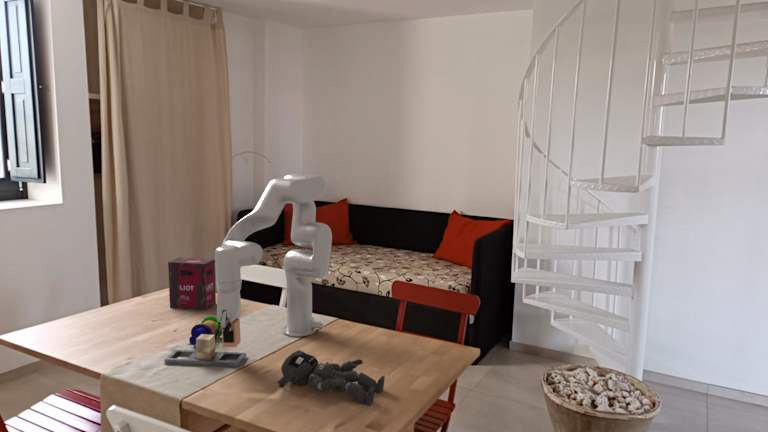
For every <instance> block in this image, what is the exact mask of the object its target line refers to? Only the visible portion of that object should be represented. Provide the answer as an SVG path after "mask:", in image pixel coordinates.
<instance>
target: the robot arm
mask: <svg viewBox="0 0 768 432" xmlns="http://www.w3.org/2000/svg"><path fill="white" fill-rule="evenodd" d="M326 190H327V182H326V180H325V178H324V177H323V176H321V175H318V174H307V173H306V174H305V173H287V174H286V175H284V177H282V178H281V177H279V178H273V179H271V180H270V181H269V182H268V184H267V185H266V187H265V189H264V191H263V193H262V194H261V196H260V198H259V199H258V201H257V203H256V204H255V206H254V209H253V210H251V212H250V213H248V214H247V215H245V216H244V217H242V218H241V219H240V220H238V221H237V222H236V223H235V224H234V225H232V226H231V228H230V229H229V231H228V232H227V234H226V236H225V237H224V239H223V242H222V243H221V246H219V247H217V248H216V249H215V250H214V258H215V259H214V260H215V284H216V291H217V296H216V298H217V299H216V318H217V321H218V322H221V327H222V328H223V341H224V342H225V343H233V342H234V333H233V330H232V322H233V321H234V320H235V319H239V316H240V315H241V312H242V303H241V302H242V300H241V293H240V292H241V291H240V290H241V289H242V277H241V275H242V273H241V268H243V267H250V266H254V265H257V264H259V262H261V260H262V258H263V255H264V250H263V248H262V246H261V245H260V244H258V243H256V242H252V241H246V239H247V238H248V237H249V236H250V235H252V234H254V233H255V232H258V231H261V230H263V229H266V228H267V229H268V228H270V227H272V226H274V225H275V224H276V222H277V221H278V219H279V217H280V215H281V213H282V211H283V209H284V207H285V205H286V204H292V209H293V210H292V220H291V228H290V229H291V230H290V240H291V243H293V244H294V245H295V246H299V247H304V248H305V247H306V248H312V251H311V250H306V249H299V248H298V249H297V248H296V249H291V250H289V251H287V253H286V254H285V255H284V258H283V268H284V269H283V270H284V273H285V281H286V325H284V326H283V327H282V333H283V334H284V335H286V336H290V337H299V338H300V337H306V336H311V335H313V334H314V333H316V331H317V329H323V328H324V323H323V322H322V321H316V320H315V317H313V285H312V282H311V279H310V278H313V279H322V278H324V277H325V276H326V275H327V273H328V272H329V269H330V262H331V254H332V253H331V252H332V243H333V233H332V230H331V229H332V228H331V227H330V226H329V225H328V224H326V223H323V222H316V218H317V217H316V216H317V207H316V203H315V201H316V200H318V199H321V198H322V197H323V196H324V195H325V193H326ZM227 319H229V321H227ZM226 323H230V326H229V325H227V324H226Z"/></svg>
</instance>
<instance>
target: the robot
mask: <svg viewBox="0 0 768 432" xmlns="http://www.w3.org/2000/svg"><path fill="white" fill-rule="evenodd" d="M362 364H364V361H363V359H360V358H359V359H356V360H352V361H351V360H347V361H346V362H343V363H341V365H340V364H338V363H332V362H331V363H329V361H328V362H327V361H326V362H320V363H319V361H318V359H317V358H316V357H315V356H314V355H311V354H309V353H307V352H304V351H302V350H299V349H298V350H296V351H294V352H292V353H290V355H288V356H287V357H286V358H285V359H284V361H283V363H282V365H281V368H280V369H281V373H282V375H283V376H282V377H281V378H280V379H279V380H278V381H277V383H276V384H279V386H278V388H280V389H281V388H283V389H284V388H285V386H286V385H288V383H289V382H290V383H293V384H298V386H303V385H306V384H307V383H309V384H311V385H312V386H313V388H314V389H316V390H320V391H323V392H325V391H326V392H330V391H333V389H334V390H336V391H341V392H346V394H347V395H348V396H349V397H351V399H353V400H354V401H356V402H357V403H360V404H364V405H366V404H367V406H370V405H371V404H372V403H373V401H374V398H375V393H377V394H378V395H379V394H381V393H382V391H384V386H385V378H386V376H385V375H381V376H380V377H379V379H378V380H375V379H374V378H372V377H370V376H369V375H367V374H366V373H363V372H357V371H356V370H354V369H356V368H357V367H358V366H359V365H362ZM356 383H357V384H358V385H357V384H356ZM362 388H363V389H362ZM364 389H365V390H364ZM366 391H367V393H366Z"/></svg>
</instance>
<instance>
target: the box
mask: <svg viewBox="0 0 768 432" xmlns="http://www.w3.org/2000/svg"><path fill="white" fill-rule="evenodd" d="M167 264H168V265H167V267H168V269H167V270H168V291H169V308H170V309H180V310H181V309H182V310H194V311H208V310H209V309H210V308H213V307H214V306H215V305H217V299H216V298H217V296H216V264H215V259H210V258H209V259H208V258H191V257H177V258H174V259H172V260H171V261H167Z"/></svg>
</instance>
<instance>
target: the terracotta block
mask: <svg viewBox="0 0 768 432" xmlns="http://www.w3.org/2000/svg"><path fill="white" fill-rule="evenodd" d="M240 320H241V319H240V318H238V319H235V320H234V321H233V322H232V330H233V333H234V342H233V343H225V342H224V341H223V328H222V335H221V338H222V339H221V340H222V348H237V347H238V346H239V345H240V343H241V342H242V341H241V322H240ZM227 321H229V319H227ZM226 324H227V325H229V326H230V323H226Z"/></svg>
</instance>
